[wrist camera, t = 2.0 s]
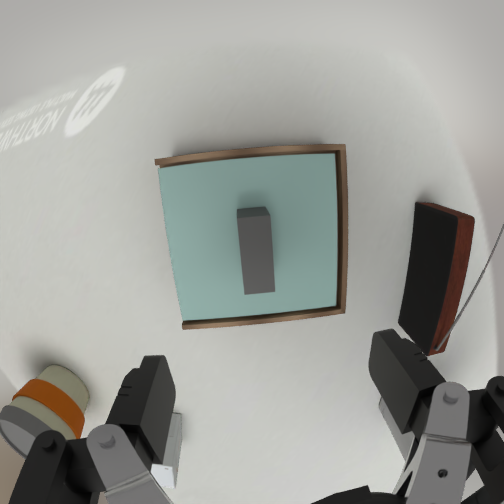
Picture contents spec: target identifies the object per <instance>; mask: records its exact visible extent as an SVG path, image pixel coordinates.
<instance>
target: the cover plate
mask: <svg viewBox="0 0 504 504" xmlns="http://www.w3.org/2000/svg"><path fill="white" fill-rule="evenodd" d="M158 173H159V182H160V190H161V198H162V205H163V212H164V219H165V226H166V233H167V239H168V245H169V251H170V257H171V263H172V268H173V274H174V279H175V285H176V290H177V295H178V300H179V305H180V310H181V314H182V319H183V321H184V320H200V319H214V318H227V317H239V316H250V315H261V314H270V313H280V312H289V311H297V310H306V309H314V308H322V307H329V306H336V291H337V190H336V167H335V154H301V155H281V156H266V157H252V158H240V159H230V160H220V161H211V162H202V163H194V164H186V165H179V166H172V167H165V168H158Z"/></svg>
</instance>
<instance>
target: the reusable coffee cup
mask: <svg viewBox="0 0 504 504" xmlns="http://www.w3.org/2000/svg"><path fill="white" fill-rule="evenodd" d="M88 400H89V392H88V390H87V388H86V386H85V384H84V383H83V382H82V381H81V380H80V378H78V377H77V376H76V375H75V374H74V373H72V372H71V371H69V370H68V369H66V368H64V367H61V366H58V365H50V366H48V367H47V368H46V369H45V370H44V371H43V372H42V373H41V374H40V375H39V376H37V377H36V378H35V379H32V380H30V381H29V382H28V383H27V384H25V385H24V386H23V387H22V388H21V389H20V390H19V391H18V392H17V393H16V394H15V395H14V396H13V399H12V402H11V403H10V405H8V406H5V407H3V409H2V411H1V413H0V435H1V436H2V437H3V439H4V440H5V441H6V442H7V443H8V445H9V446H10V447H11V448H12V449H14V450H15V451H16V452H17V453H18V454H19V455H20V456H22V457H23V458H24V459H26V458H27V455H28V453H29V451H30V449H31V446H32V444H33V442H34V440H35V438H36V437H37V436H38V435H39V434H41V433H42V432H44V431H47V430H56V431H59V432H60V433H62V434H63V436H64V437H65V438H66V440H71V439H80V437H81V433H82V430H83V426H84V422H85V419H84V413H85V410H86V406H87V403H88Z"/></svg>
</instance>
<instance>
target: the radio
mask: <svg viewBox="0 0 504 504" xmlns="http://www.w3.org/2000/svg"><path fill="white" fill-rule="evenodd" d="M474 223H475V219H474V217H473V216H470V215H468V214H465V213H462V212H459V211H456V210H453V209H450V208H447V207H444V206H441V205H438V204H434V203H419V202H416V203H415V211H414V223H413V233H412V242H411V250H410V257H409V264H408V271H407V277H406V283H405V289H404V295H403V300H402V305H401V310H400V315H399V319H398V323H399V325H400V326H401V327H402V328H403V330H404V331H405V332H406V333H407V334H408V335H409V336H410V338H411V339H412V340H413V341H414V342H415V344H416V345H417V346H418V347H419V348H420V350H421V351H422V352H423V353H424V354H425V356H430V355H434V354H438V353H442V352H444V351H445V348H446V345H447V342H448V339H449V336H450V333H451V331H452V329H453V327H454V326H455V324H456V323H457V321H458V320H459V318H460V316H461V314H462V312H463V311H464V309H465V307H466V306H467V304H468V302H469V300H470V299H471V297H472V295H473V293H474V291H475V289H476V288H477V286H478V284H479V282H480V280H481V278H482V276H483V274H484V272H485V269H486V267H487V265H488V263H489V261H490V259H491V257H492V255H493V252H494V250H495V248H496V246H497V243H498V241H499V238H500V236H501V234H502V231H503V229H504V224H503V227H502V230H501V232H500V234H499V237H498V239H497V242H496V244H495V246H494V248H493V251H492V253H491V255H490V257H489V259H488V262H487V264H486V266H485V268H484V270H483V271H482V273H481V275H480V277H479V279H478V281H477V283H476V285H475V287H474V289H473V291H472V292H471V294H470V296H469V298H468V300H467V301H466V303H465V305H464V307H463V308H462V310H461V312H460V314H459V315H458V316H457V318H456V320H455V316H456V313H457V309H458V306H459V302H460V298H461V294H462V290H463V286H464V281H465V277H466V272H467V267H468V262H469V256H470V251H471V245H472V238H473V231H474ZM454 320H455V321H454Z"/></svg>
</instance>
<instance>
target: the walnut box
mask: <svg viewBox="0 0 504 504" xmlns="http://www.w3.org/2000/svg"><path fill="white" fill-rule="evenodd" d="M301 154H335V167H336V190H337V291H336V306H329V307H322V308H314V309H306V310H297V311H289V312H280V313H270V314H261V315H250V316H239V317H227V318H214V319H200V320H184V321H183V323H182V328H183V330H186V329H203V328H218V327H231V326H242V325H253V324H264V323H273V322H282V321H291V320H299V319H307V318H315V317H323V316H330V315H337V314H343V313H345V309H346V292H347V268H348V186H347V162H346V145H345V144H318V145H289V146H271V147H256V148H244V149H233V150H222V151H213V152H205V153H196V154H189V155H181V156H174V157H168V158H161V159H155V165H160V168H165V167H172V166H179V165H186V164H194V163H202V162H211V161H220V160H230V159H240V158H252V157H266V156H281V155H301Z"/></svg>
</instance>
